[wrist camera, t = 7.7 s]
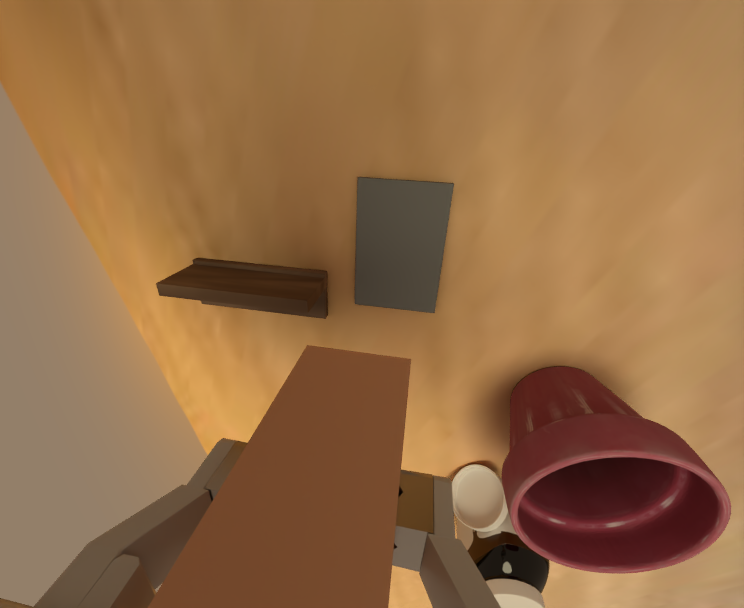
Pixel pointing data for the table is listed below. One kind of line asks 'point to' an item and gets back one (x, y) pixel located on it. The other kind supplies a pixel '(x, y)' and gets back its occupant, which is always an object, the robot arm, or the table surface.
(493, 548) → the spread jar
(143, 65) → the table surface
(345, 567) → the terracotta block
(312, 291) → the brown wooden stand
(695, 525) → the plant pot
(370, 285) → the charcoal mat
